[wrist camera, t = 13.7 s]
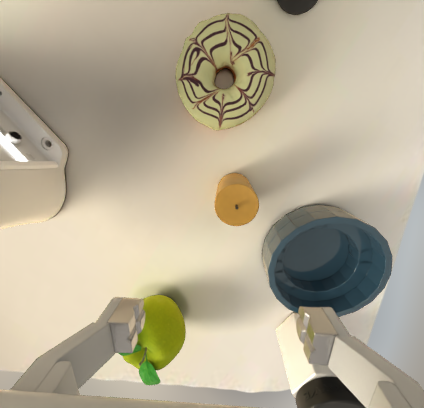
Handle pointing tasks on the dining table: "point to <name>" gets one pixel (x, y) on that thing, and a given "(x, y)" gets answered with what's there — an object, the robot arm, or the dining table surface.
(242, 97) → the decorated donut
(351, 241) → the bowl
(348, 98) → the dining table surface
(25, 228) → the dining table surface
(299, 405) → the jar
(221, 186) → the candle
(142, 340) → the fruit
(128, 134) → the dining table surface
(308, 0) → the sundae
